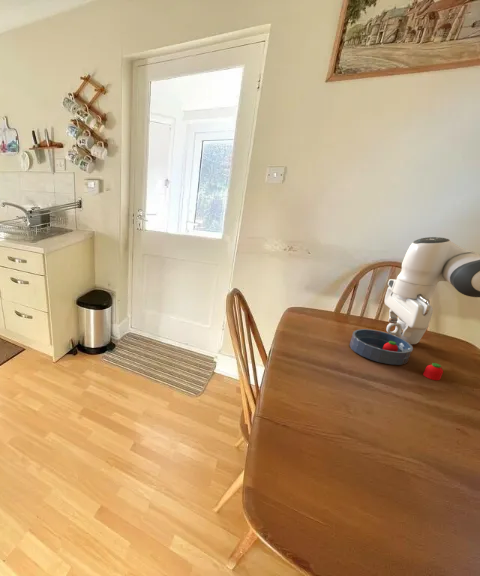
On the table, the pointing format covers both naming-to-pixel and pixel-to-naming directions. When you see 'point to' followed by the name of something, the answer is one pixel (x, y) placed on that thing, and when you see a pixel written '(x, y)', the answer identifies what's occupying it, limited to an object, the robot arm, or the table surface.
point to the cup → (400, 324)
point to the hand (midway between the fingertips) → (398, 328)
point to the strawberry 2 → (433, 371)
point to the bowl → (380, 346)
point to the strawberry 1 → (390, 346)
